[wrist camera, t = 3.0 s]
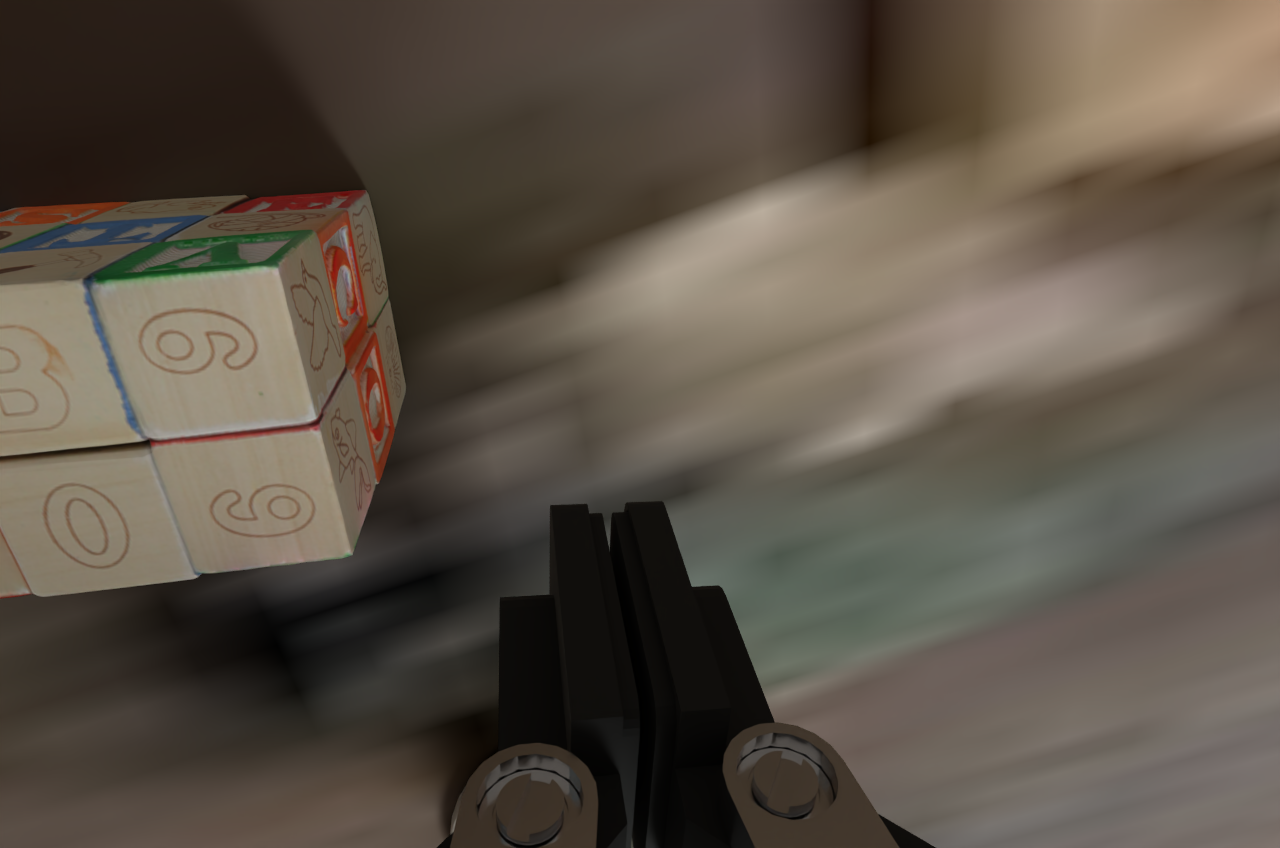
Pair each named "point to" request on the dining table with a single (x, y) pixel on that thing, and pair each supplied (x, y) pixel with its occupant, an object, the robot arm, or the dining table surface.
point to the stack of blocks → (190, 387)
